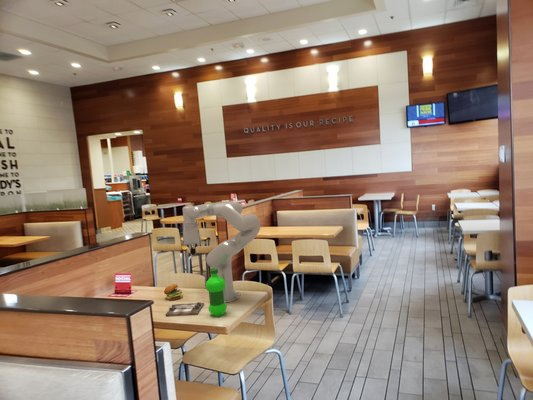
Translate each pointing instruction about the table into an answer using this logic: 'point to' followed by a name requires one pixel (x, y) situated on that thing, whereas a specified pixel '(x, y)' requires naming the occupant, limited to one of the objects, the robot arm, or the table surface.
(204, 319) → the table surface
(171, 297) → the cheeseburger
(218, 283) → the plastic bottle
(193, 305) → the hold down bar
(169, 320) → the table surface
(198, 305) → the ticket board
